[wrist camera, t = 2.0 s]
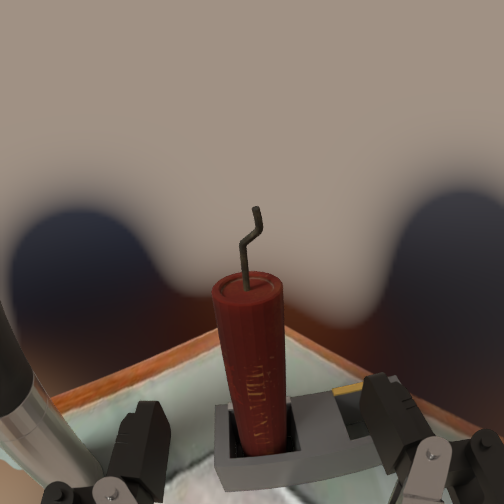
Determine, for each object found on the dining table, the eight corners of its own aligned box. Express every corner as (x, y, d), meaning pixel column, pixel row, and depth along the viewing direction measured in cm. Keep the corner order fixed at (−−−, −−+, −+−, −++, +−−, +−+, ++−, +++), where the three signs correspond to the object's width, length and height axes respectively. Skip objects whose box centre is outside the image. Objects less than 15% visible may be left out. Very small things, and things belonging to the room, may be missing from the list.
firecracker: (247, 479, 27) (197, 219, 16) (243, 447, 32) (200, 202, 21) (290, 472, 28) (286, 209, 17) (282, 441, 32) (270, 194, 21)
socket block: (225, 491, 26) (213, 466, 23) (224, 436, 34) (214, 403, 31) (407, 455, 26) (426, 422, 24) (384, 409, 34) (396, 373, 32)
